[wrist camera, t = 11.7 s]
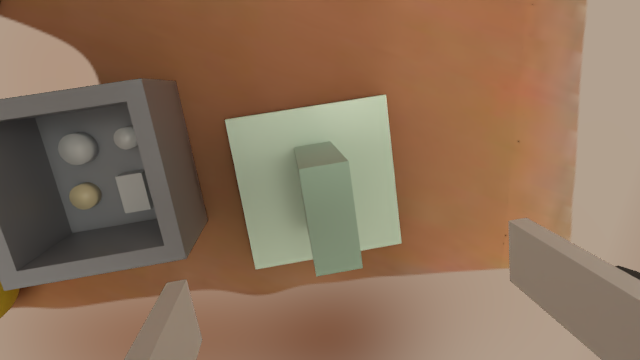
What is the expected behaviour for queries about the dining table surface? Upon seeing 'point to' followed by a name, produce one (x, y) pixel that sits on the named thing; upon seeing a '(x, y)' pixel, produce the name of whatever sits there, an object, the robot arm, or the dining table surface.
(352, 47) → the dining table surface
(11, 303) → the lemon
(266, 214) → the lid
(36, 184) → the parts tub
